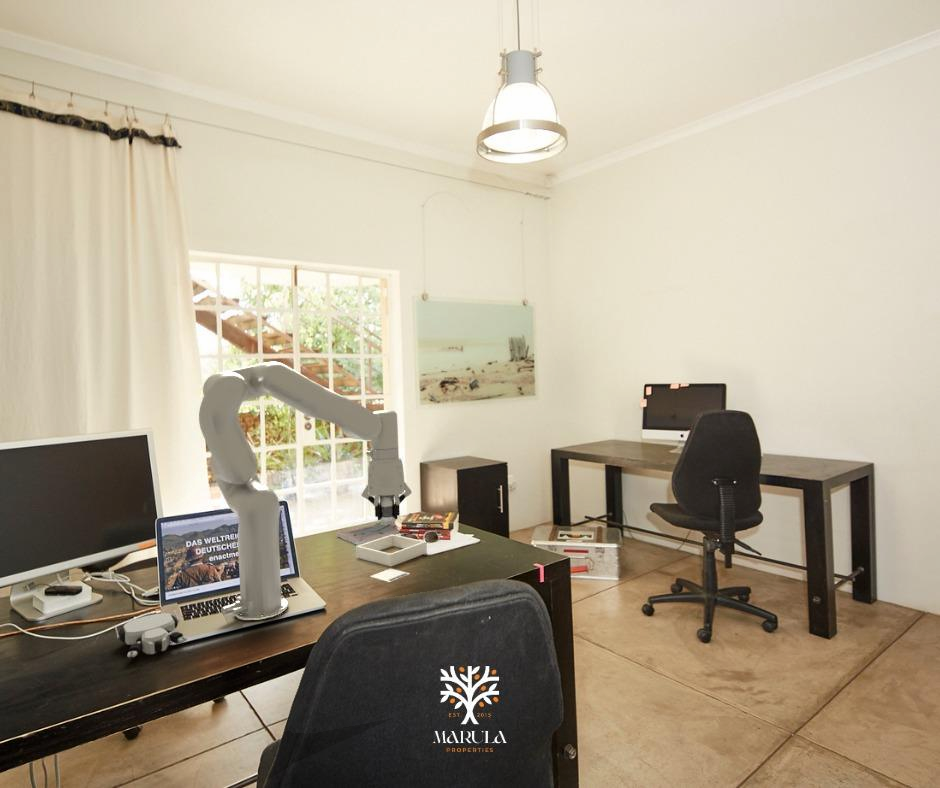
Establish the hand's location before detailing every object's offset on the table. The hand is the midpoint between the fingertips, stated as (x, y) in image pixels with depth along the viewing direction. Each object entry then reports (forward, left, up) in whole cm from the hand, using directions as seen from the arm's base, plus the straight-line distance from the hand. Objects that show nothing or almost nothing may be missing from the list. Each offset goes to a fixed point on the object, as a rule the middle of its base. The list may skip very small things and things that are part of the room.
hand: (387, 518), depth 163 cm
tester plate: (0, 0, -17) cm, 17 cm away
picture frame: (+28, +38, -18) cm, 50 cm away
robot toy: (-58, +14, -18) cm, 62 cm away
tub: (+13, +13, -17) cm, 25 cm away
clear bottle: (0, 0, -1) cm, 1 cm away
